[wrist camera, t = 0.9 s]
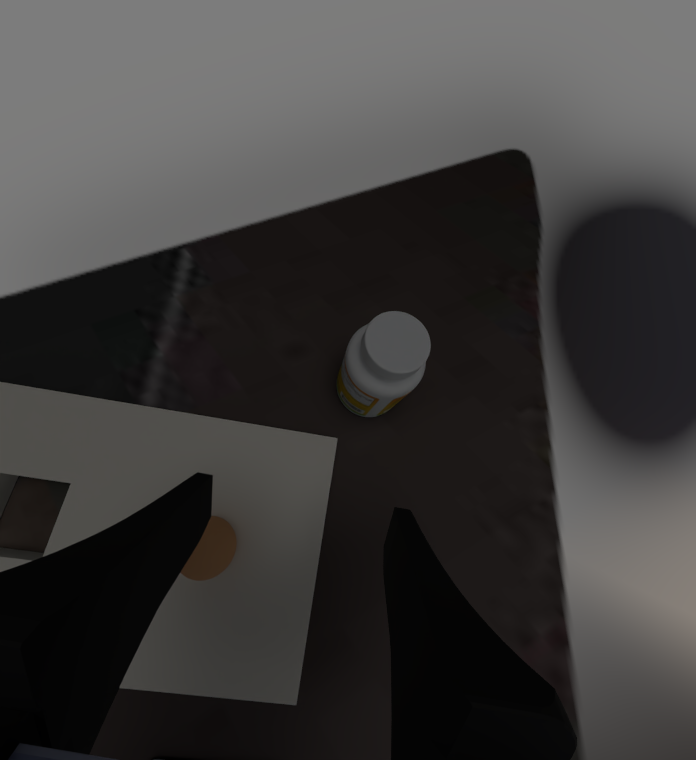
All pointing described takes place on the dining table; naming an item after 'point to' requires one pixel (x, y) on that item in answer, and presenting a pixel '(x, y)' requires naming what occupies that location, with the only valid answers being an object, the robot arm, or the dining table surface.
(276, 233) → the dining table surface
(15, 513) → the dining table surface
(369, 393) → the supplement bottle
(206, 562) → the ball
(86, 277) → the dining table surface
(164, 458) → the white flat board
